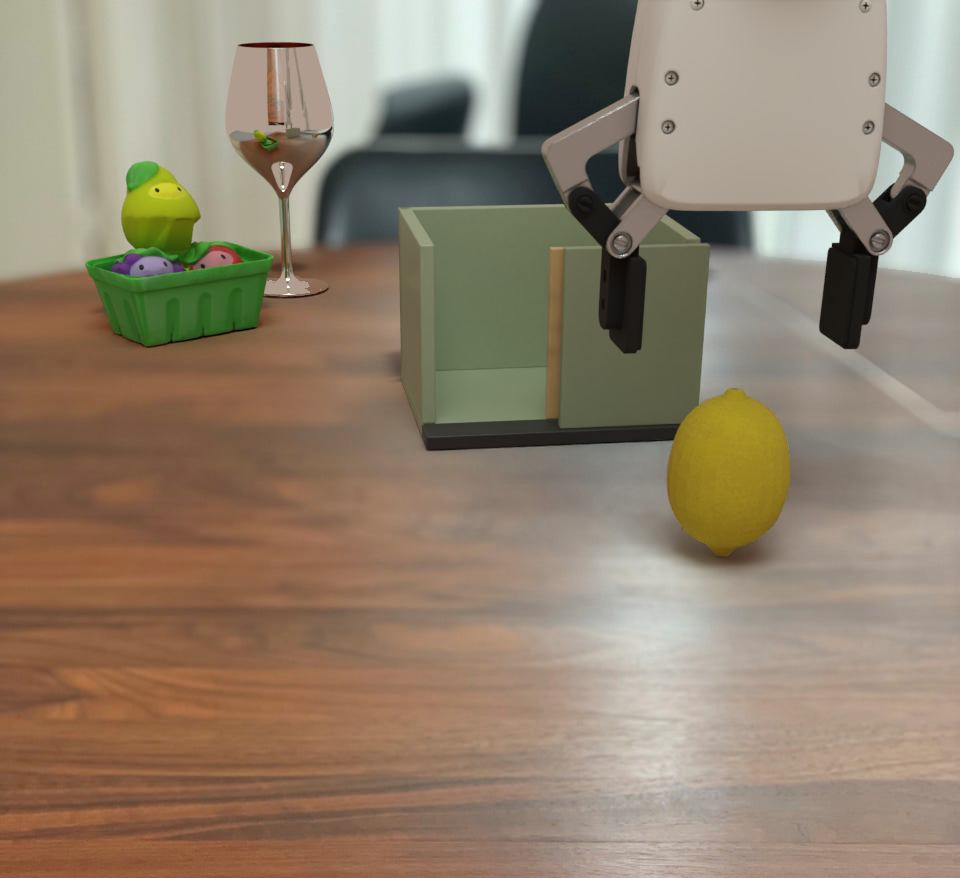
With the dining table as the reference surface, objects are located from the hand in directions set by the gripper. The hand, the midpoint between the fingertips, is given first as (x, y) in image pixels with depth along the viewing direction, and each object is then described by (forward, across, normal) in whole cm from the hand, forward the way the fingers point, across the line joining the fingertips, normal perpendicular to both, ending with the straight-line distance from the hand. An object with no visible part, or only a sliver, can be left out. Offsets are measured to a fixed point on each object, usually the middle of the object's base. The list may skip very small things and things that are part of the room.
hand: (732, 343), depth 65 cm
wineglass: (+10, +18, -58) cm, 62 cm away
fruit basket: (+10, +26, -46) cm, 54 cm away
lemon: (+10, 0, 0) cm, 10 cm away
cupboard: (+10, +3, -24) cm, 26 cm away
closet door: (+9, 0, -19) cm, 21 cm away
